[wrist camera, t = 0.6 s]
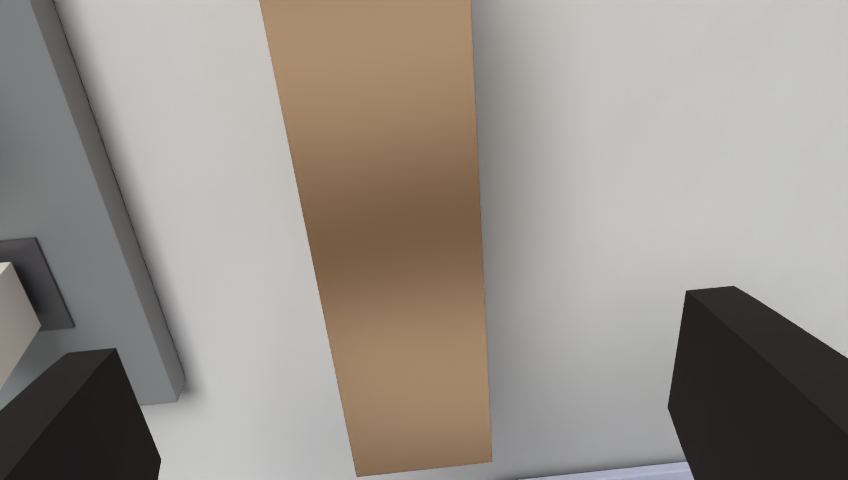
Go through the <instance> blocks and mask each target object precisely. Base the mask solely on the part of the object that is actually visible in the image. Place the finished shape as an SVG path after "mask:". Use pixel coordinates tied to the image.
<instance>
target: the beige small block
mask: <svg viewBox="0 0 848 480" xmlns="http://www.w3.org/2000/svg"><path fill="white" fill-rule="evenodd" d="M40 327H41V324H40V322H39V320H38V318H37V316H36V314H35V312H34V310H33V307H32V305H31V303H30V301H29V299H28V297H27V295H26V293H25V291H24V288H23V286H22V284H21V282H20V280H19V278H18V276H17V274H16V272H15V269H14V267H13V265H12V263H11V262H4V263H0V389H1V388H2V386H3V385H4V383H5V381H6V380H7V378H8V377H9V375H10V374H11V372H12V371H13V369H14V367H15V366H16V364H17V363H18V361H19V360H20V358H21V357H22V355H23V353H24V352H25V350H26V349H27V347H28V346H29V344H30V342H31V341H32V339H33V338H34V336H35V335H36V333H37V332H38V330H39V328H40Z"/></svg>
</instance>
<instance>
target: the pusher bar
mask: <svg viewBox="0 0 848 480" xmlns="http://www.w3.org/2000/svg"><path fill="white" fill-rule="evenodd" d="M259 2H260V6H261V11H262V16H263V21H264V26H265V31H266V36H267V41H268V45H269V50H270V55H271V60H272V65H273V70H274V75H275V80H276V85H277V89H278V94H279V99H280V104H281V109H282V114H283V119H284V124H285V129H286V133H287V138H288V143H289V148H290V153H291V158H292V163H293V168H294V173H295V177H296V182H297V187H298V192H299V197H300V202H301V207H302V212H303V217H304V221H305V226H306V231H307V236H308V241H309V246H310V251H311V256H312V260H313V265H314V270H315V275H316V280H317V285H318V290H319V295H320V300H321V304H322V309H323V314H324V319H325V324H326V329H327V334H328V339H329V344H330V348H331V353H332V358H333V363H334V368H335V373H336V378H337V383H338V388H339V392H340V397H341V402H342V407H343V412H344V417H345V422H346V427H347V431H348V436H349V441H350V446H351V451H352V456H353V461H354V466H355V471H356V475H357V477H362V476H371V475H380V474H389V473H398V472H407V471H416V470H425V469H433V468H442V467H451V466H460V465H469V464H478V463H487V462H492V447H491V426H490V405H489V383H488V362H487V341H486V320H485V299H484V277H483V256H482V235H481V214H480V192H479V171H478V150H477V129H476V108H475V86H474V65H473V44H472V23H471V2H470V0H259Z"/></svg>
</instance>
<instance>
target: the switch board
mask: <svg viewBox="0 0 848 480" xmlns="http://www.w3.org/2000/svg"><path fill="white" fill-rule="evenodd" d="M4 262H11V263H12V265H13V267H14V269H15V272H16V274H17V276H18V278H19V280H20V282H21V284H22V286H23V288H24V291H25V293H26V295H27V297H28V299H29V301H30V303H31V305H32V307H33V310H34V312H35V314H36V316H37V318H38V320H39V322H40V324H41V327H40V328H39V330H38V332H37V333H36V335H35V336H34V338H33V339H32V341H31V342H30V344H29V346H28V347H27V349H26V350H25V352H24V353H23V355H22V357H21V358H20V360H19V361H18V363H17V364H16V366H15V367H14V369H13V371H12V372H11V374H10V375H9V377H8V378H7V380H6V381H5V383H4V385H3V386H2V388H1V389H0V410H1V409H3V408H4V407H5V406H6V405H7V404H8V403H9V402H10V401H11V400H13V399H14V398H15V397H16V396H17V395H18V394H19V393H20V392H21V391H23V390H24V389H25V388H26V387H27V386H28V385H29V384H30V383H32V382H33V381H34V380H35V379H36V378H37V377H38V376H40V375H41V374H42V373H43V372H44V371H45V370H47V369H48V368H49V367H50V366H51V365H52V364H54V363H55V362H56V361H57V360H59V359H60V358H61V357H62V356H64V355H65V354H66V353H69V352H79V351H89V350H99V349H109V348H116V349H117V352H118V354H119V357H120V359H121V361H122V364H123V366H124V369H125V371H126V374H127V376H128V379H129V381H130V384H131V386H132V389H133V391H134V394H135V396H136V399H137V401H138V404H139V406H143V405H153V404H162V403H172V402H178V399H179V395H180V392H181V389H182V386H183V383H184V380H185V376H184V373H183V371H182V368H181V365H180V362H179V359H178V356H177V353H176V351H175V348H174V345H173V342H172V339H171V336H170V333H169V331H168V328H167V325H166V322H165V319H164V316H163V314H162V311H161V308H160V305H159V302H158V299H157V296H156V294H155V291H154V288H153V285H152V282H151V279H150V277H149V274H148V271H147V268H146V265H145V262H144V259H143V257H142V254H141V251H140V248H139V245H138V242H137V240H136V237H135V234H134V231H133V228H132V225H131V222H130V220H129V217H128V214H127V211H126V208H125V205H124V203H123V200H122V197H121V194H120V191H119V188H118V185H117V183H116V180H115V177H114V174H113V171H112V168H111V166H110V163H109V160H108V157H107V154H106V151H105V148H104V146H103V143H102V140H101V137H100V134H99V131H98V129H97V126H96V123H95V120H94V117H93V114H92V111H91V109H90V106H89V103H88V100H87V97H86V94H85V92H84V89H83V86H82V83H81V80H80V77H79V74H78V72H77V69H76V66H75V63H74V60H73V57H72V55H71V52H70V49H69V46H68V43H67V40H66V37H65V35H64V32H63V29H62V26H61V23H60V20H59V18H58V15H57V12H56V9H55V6H54V3H53V0H0V263H4Z"/></svg>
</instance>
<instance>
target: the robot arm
mask: <svg viewBox="0 0 848 480" xmlns="http://www.w3.org/2000/svg"><path fill="white" fill-rule="evenodd" d="M668 410H669V412H670V415H671V418H672V421H673V424H674V427H675V429H676V432H677V435H678V438H679V441H680V444H681V447H682V449H683V452H684V454H685V457H686V460H687V462H678V463H668V464H659V465H650V466H640V467H631V468H622V469H613V470H603V471H594V472H585V473H575V474H566V475H557V476H547V477H538V478H529V479H520V480H848V358H846V357H845V356H843V355H842V354H840V353H839V352H837V351H835V350H834V349H832V348H831V347H829V346H828V345H826V344H825V343H823V342H822V341H820V340H819V339H817V338H815V337H814V336H812V335H811V334H809V333H808V332H806V331H805V330H803V329H802V328H800V327H799V326H797V325H796V324H794V323H792V322H791V321H789V320H788V319H786V318H785V317H783V316H782V315H780V314H779V313H777V312H776V311H774V310H772V309H771V308H769V307H768V306H766V305H765V304H763V303H761V302H760V301H758V300H757V299H755V298H753V297H752V296H750V295H749V294H747V293H745V292H743V291H742V290H740V289H738V288H737V287H735V286H728V287H718V288H708V289H698V290H688V291H686V295H685V301H684V307H683V314H682V320H681V326H680V333H679V339H678V345H677V352H676V358H675V364H674V371H673V377H672V383H671V390H670V396H669V402H668ZM160 464H161V458H160V455H159V453H158V451H157V448H156V446H155V443H154V441H153V438H152V436H151V433H150V431H149V428H148V426H147V423H146V421H145V418H144V416H143V413H142V411H141V408H140V406H139V404H138V401H137V399H136V396H135V394H134V391H133V389H132V386H131V384H130V381H129V379H128V376H127V374H126V371H125V369H124V366H123V364H122V361H121V359H120V357H119V354H118V352H117V349H116V348H109V349H99V350H89V351H79V352H69V353H66V354H65V355H64V356H62V357H61V358H60V359H59V360H57V361H56V362H55V363H54V364H52V365H51V366H50V367H49V368H48V369H47V370H45V371H44V372H43V373H42V374H41V375H40V376H38V377H37V378H36V379H35V380H34V381H33V382H32V383H30V384H29V385H28V386H27V387H26V388H25V389H24V390H23V391H21V392H20V393H19V394H18V395H17V396H16V397H15V398H14V399H13V400H11V401H10V402H9V403H8V404H7V405H6V406H5V407H4V408H3V409H1V410H0V480H158V475H159V469H160Z"/></svg>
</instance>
